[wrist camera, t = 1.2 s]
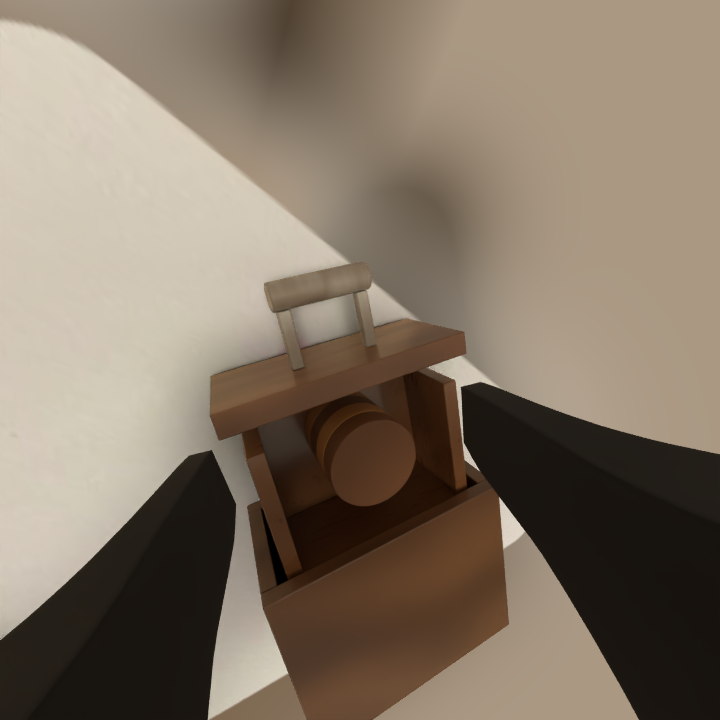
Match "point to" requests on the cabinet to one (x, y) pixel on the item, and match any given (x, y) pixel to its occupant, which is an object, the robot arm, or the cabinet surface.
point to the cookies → (360, 449)
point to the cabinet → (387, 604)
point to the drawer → (330, 382)
